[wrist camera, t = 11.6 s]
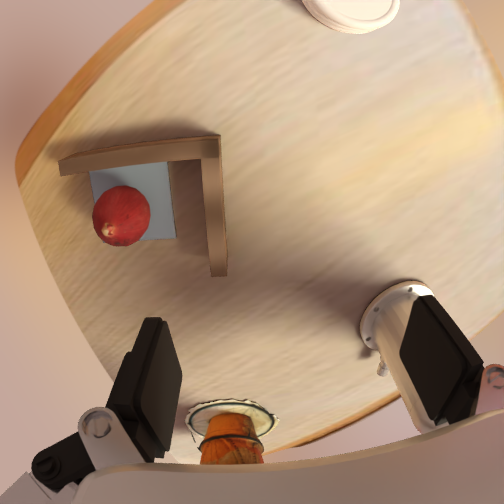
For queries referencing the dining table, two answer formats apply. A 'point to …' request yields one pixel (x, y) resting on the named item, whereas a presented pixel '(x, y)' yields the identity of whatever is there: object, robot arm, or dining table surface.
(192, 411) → the decorative vase
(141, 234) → the onion
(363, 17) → the coaster
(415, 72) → the dining table surface
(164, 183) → the pad
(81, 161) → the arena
